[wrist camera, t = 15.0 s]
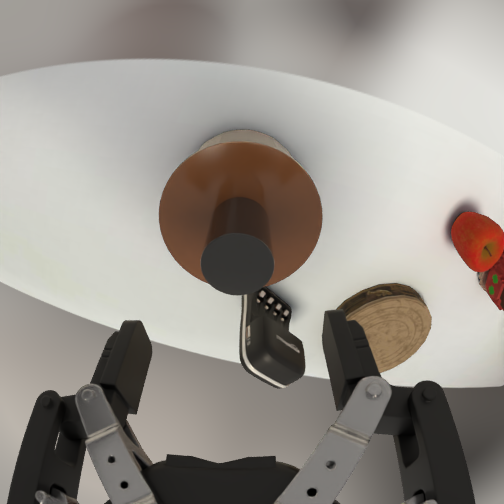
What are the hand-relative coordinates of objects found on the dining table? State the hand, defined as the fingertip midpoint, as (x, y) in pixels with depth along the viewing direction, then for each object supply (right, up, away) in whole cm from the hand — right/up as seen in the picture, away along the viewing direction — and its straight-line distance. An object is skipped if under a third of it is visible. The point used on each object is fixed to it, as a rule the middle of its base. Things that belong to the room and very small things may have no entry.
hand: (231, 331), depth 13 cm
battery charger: (+3, -2, +25) cm, 25 cm away
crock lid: (0, +6, +10) cm, 11 cm away
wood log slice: (+19, -7, +28) cm, 34 cm away
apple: (+27, +7, +19) cm, 34 cm away
